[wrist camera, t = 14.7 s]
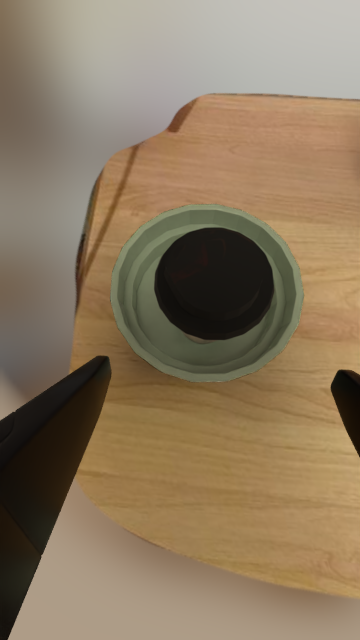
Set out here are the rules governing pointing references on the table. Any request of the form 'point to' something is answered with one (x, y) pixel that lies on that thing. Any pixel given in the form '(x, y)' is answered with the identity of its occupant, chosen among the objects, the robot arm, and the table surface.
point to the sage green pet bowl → (166, 339)
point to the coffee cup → (214, 284)
